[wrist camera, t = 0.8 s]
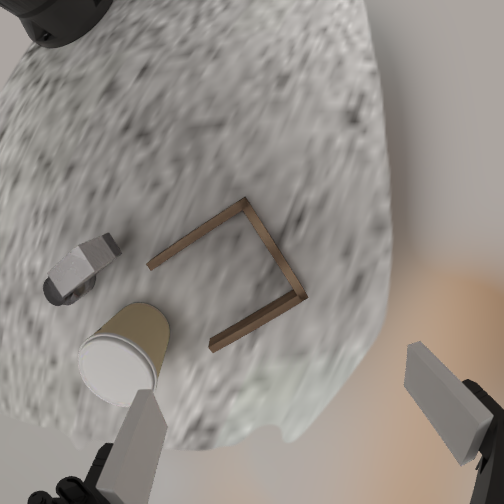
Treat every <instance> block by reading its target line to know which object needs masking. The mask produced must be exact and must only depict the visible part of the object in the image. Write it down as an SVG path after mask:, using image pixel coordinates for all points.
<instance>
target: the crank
mask: <svg viewBox="0 0 504 504" xmlns="http://www.w3.org/2000/svg"><path fill="white" fill-rule="evenodd" d="M121 254H122V252H121V250H120V249H119V247H118V246H117V244H116V243H115V241H114V240H113V238H112V237H111V235H110V233H106V234H104V235H102V236H99V237H97V238H94V239H92V240H89V241H87V242H85V243H82V244H80V245H78V246H77V247H75V248H74V249H73V250H72V251H71V252H70V253H69V254H68V255H66V256H65V257H64V258H63V259H62V260H61V261H60V262H59V263H58V264H57V265H55V266H54V267H53V268H52V269H51V270H50V271H49V272H48V273H47V274H48V275H49V278H47V279H46V280H45V282H44V285H43V291H44V294H45V297H46V298H47V300H48V301H49V302H50V303H51V304H53V305H55V306H60V305H62V304H64V303H65V302H66V301H68V300H69V299H70V298H71V297H72V295H73V292H74V291H75V290H76V289H78V288H79V287H80V286H81V285H83V284H84V283H85V282H86V281H88V280H89V279H90V278H91V277H93V276H94V275H95V274H96V273H98V272H99V271H100V270H101V269H103V268H104V267H105V266H107V265H108V264H109V263H111V262H112V261H113V260H114V259H116V258H117V257H118V256H120V255H121Z"/></svg>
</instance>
